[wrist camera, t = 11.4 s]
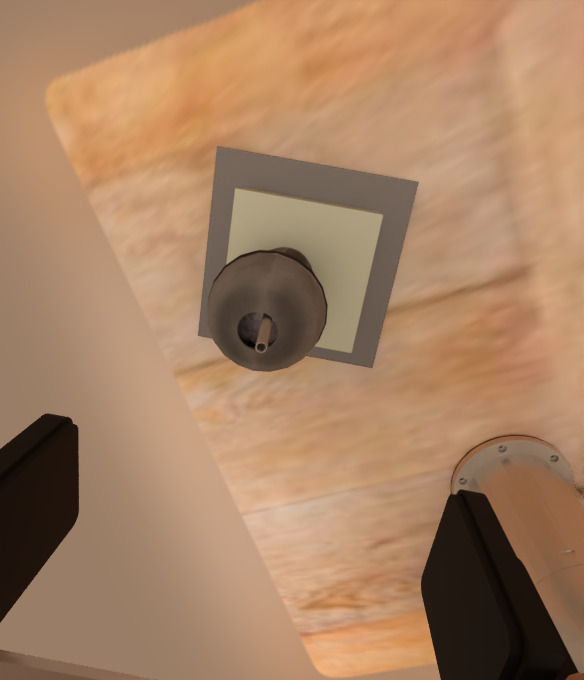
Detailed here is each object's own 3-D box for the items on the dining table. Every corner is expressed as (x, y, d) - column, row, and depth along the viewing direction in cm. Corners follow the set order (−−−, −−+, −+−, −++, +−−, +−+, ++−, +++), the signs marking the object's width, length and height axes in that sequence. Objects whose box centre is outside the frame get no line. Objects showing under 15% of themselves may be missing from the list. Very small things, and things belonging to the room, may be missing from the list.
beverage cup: (224, 270, 38) (122, 356, 19) (287, 210, 36) (241, 241, 17) (282, 331, 39) (240, 467, 21) (346, 277, 37) (363, 373, 19)
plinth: (416, 182, 40) (430, 181, 34) (371, 364, 46) (377, 389, 41) (219, 147, 40) (202, 141, 35) (200, 332, 47) (182, 353, 41)
